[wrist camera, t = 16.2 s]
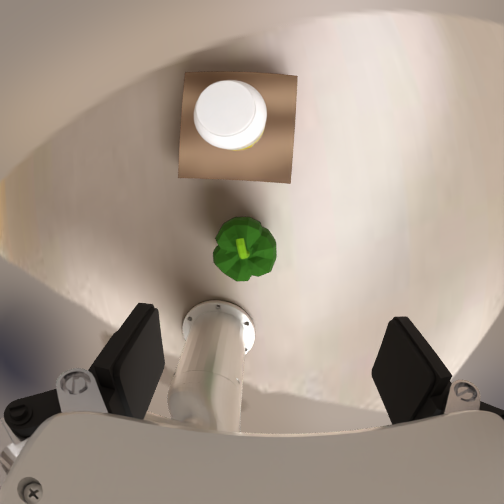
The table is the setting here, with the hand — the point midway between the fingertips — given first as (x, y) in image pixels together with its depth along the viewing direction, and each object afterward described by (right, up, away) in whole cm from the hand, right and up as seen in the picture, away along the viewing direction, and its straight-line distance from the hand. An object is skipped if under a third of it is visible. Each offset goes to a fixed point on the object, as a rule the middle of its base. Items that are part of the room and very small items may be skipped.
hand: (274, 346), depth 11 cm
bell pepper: (-2, +6, +32) cm, 33 cm away
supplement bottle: (-3, +19, +22) cm, 29 cm away
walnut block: (-3, +21, +27) cm, 34 cm away
